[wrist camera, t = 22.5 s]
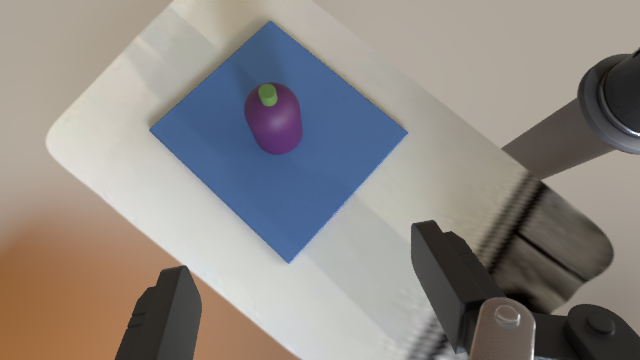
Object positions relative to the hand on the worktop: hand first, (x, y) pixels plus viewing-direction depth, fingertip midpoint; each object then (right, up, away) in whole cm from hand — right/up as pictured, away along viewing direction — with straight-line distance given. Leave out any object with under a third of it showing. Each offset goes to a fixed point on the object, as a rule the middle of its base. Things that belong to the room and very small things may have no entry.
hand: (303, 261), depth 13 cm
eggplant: (-4, +8, +24) cm, 26 cm away
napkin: (-4, +8, +25) cm, 26 cm away
